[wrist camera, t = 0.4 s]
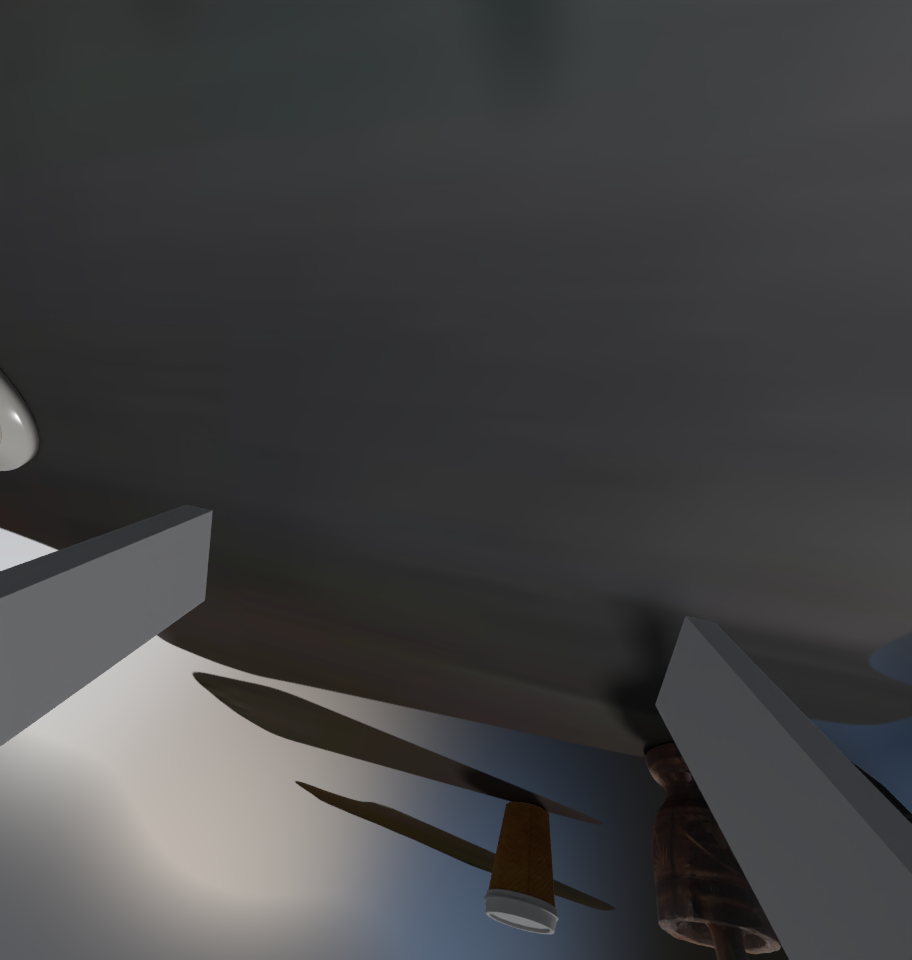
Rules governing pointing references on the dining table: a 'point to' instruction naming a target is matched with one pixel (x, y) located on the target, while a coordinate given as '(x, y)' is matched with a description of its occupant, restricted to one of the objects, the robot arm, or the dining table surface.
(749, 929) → the mortar and pestle
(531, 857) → the disposable coffee cup
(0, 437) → the plate
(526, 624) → the dining table surface
